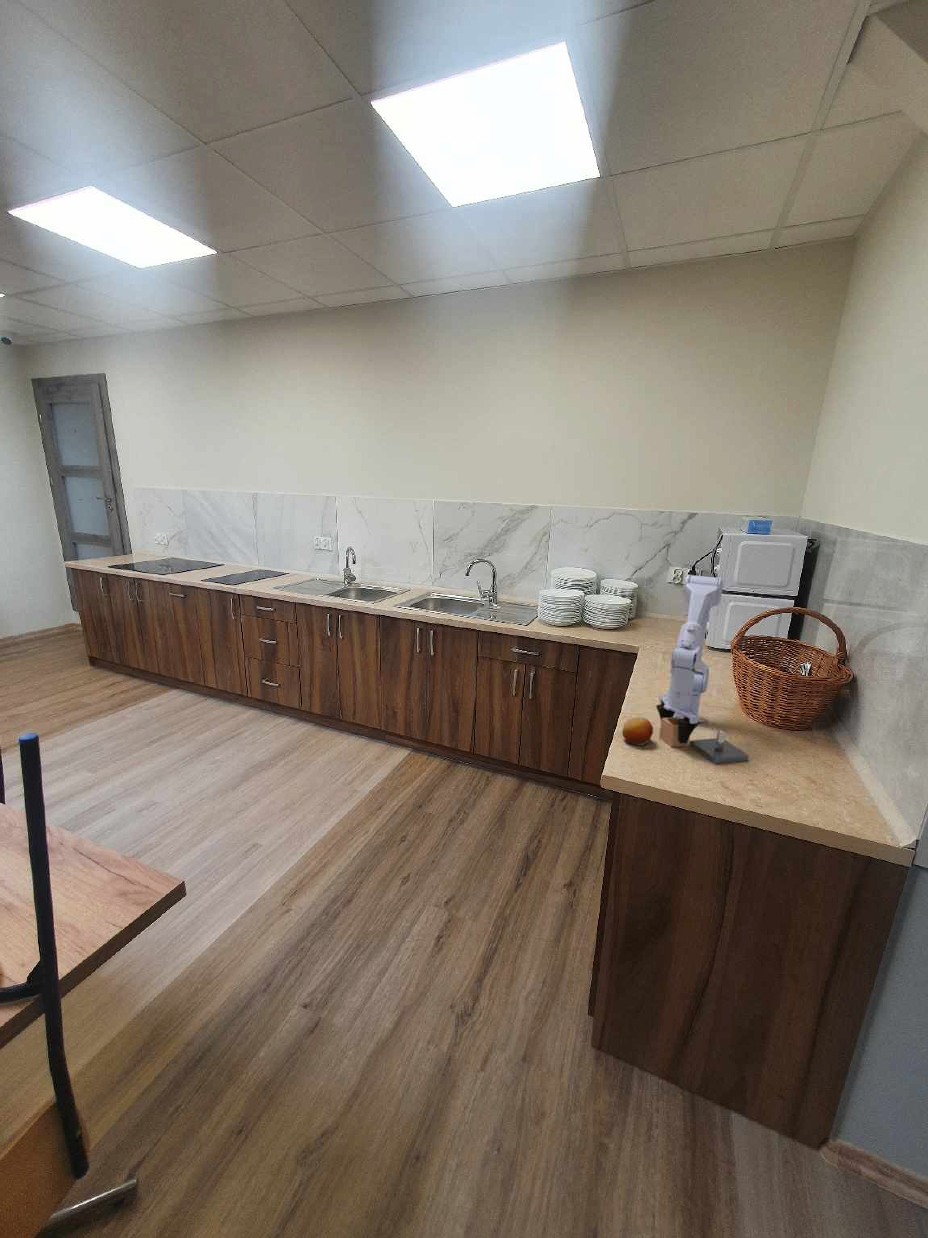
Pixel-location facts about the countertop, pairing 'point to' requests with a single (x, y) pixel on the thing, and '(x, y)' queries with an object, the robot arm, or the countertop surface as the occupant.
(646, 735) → the fruit
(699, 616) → the robot arm
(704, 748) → the post base
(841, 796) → the countertop surface
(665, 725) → the collar
